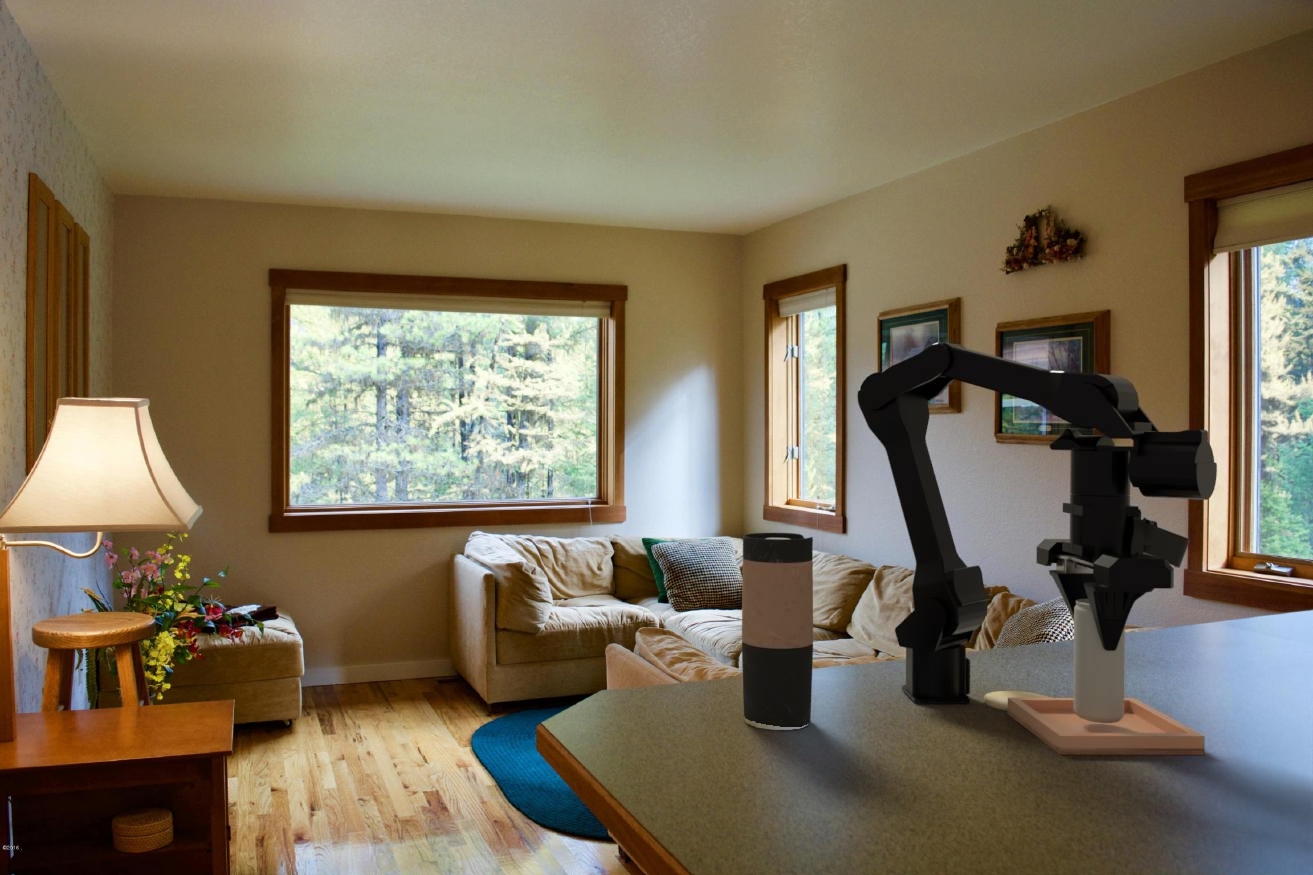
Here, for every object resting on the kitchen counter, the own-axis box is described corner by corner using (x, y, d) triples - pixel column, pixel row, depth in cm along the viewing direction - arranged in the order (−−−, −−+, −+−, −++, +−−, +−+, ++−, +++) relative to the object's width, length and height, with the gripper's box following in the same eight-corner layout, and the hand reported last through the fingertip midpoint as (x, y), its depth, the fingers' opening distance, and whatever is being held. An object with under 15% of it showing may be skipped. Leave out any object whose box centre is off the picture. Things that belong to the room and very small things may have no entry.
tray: (1060, 754, 95) (1060, 735, 95) (1007, 713, 109) (1007, 697, 109) (1204, 754, 95) (1204, 736, 95) (1133, 713, 109) (1133, 697, 109)
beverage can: (1118, 727, 99) (1119, 608, 99) (1067, 718, 102) (1068, 602, 102) (1128, 716, 103) (1129, 601, 102) (1080, 708, 105) (1080, 596, 105)
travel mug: (730, 725, 104) (730, 537, 104) (757, 708, 111) (757, 531, 111) (798, 735, 101) (799, 540, 101) (822, 717, 107) (823, 534, 107)
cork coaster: (998, 713, 109) (998, 709, 109) (974, 694, 117) (974, 690, 117) (1070, 713, 109) (1070, 709, 109) (1041, 694, 117) (1041, 690, 117)
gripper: (1230, 501, 93) (1228, 666, 93) (1133, 490, 111) (1131, 627, 111) (1112, 500, 93) (1110, 665, 93) (1035, 489, 111) (1033, 627, 111)
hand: (1098, 644), depth 102 cm, fingers closed on beverage can, 5 cm apart
